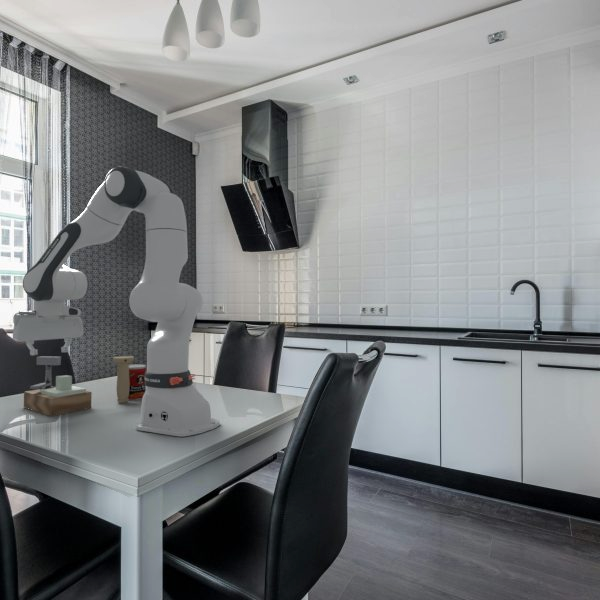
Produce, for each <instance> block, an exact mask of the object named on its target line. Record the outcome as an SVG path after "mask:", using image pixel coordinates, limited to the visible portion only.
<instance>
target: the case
mask: <svg viewBox="0 0 600 600" xmlns="http://www.w3.org/2000/svg"><path fill="white" fill-rule="evenodd" d="M54 388H56V386H54ZM41 390H42V388H39V389H32V390H26V391H23V408H24V407H25V408H24V409H26V408H29V409H28V410H30V409H32V410H31V411H33V410H35V411H34V412H36V411H38V412H37V413H39V412H41V413H40V414H43V415H46V414H47V415H48V416H49V415H50V416H49V417H53V416H58V415H63V414H64V415H65V414H67V413H73V412H77V411H83V410H87V409H91V408H92V391H90V390H86V393H80V394H74V395H69V396H63V397H57V398H55V397H51V396H47V395H43V394H41ZM47 415H46V416H47Z"/></svg>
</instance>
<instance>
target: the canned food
mask: <svg viewBox="0 0 600 600" xmlns="http://www.w3.org/2000/svg"><path fill="white" fill-rule="evenodd" d="M146 371H147V364H139V363H138V364H136V363H135V364H134V363H133V364H129V383H130V384H129V385H130V386H129V387H130V388H129V396H128V398H129V399H128V400H140V398H141V399H142V398H143V395H144V393H145V390H146V385H145V372H146Z"/></svg>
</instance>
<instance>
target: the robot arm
mask: <svg viewBox="0 0 600 600" xmlns="http://www.w3.org/2000/svg"><path fill="white" fill-rule="evenodd" d="M133 211H135V212H138V213H140V214H143V215H144V217H145V262H144V267H143V268H144V269H143V271H142V274H141V278H140V280H139V281H138V283H137V285H136V286H135V287H134V288H133V289H132V290H131V292H130V295H129V300H128V301H129V302H128V303H129V307H130V310H131V312H132V313H133V315H134V316H136V317H137V318H138V319H140V320H141V319H142V320H144V321H147V322H148V321H149V322H152V323H157V324H156V327H155V330H154V333H153V334H152V337H151V338H150V339H149V340H148V342H147V345H146V347H147V348H146V372H145V385H146V390H145V393H144V395H143V398H141V407H140V416H139V423H137V425H136V431H141V432H146V433H147V432H149V433H153V434H161V435H166V436H173V437H174V436H175V437H189V436H194V435H199V434H202V433H206V432H208V431H209V432H210V431H212V430H214V429H215V428H217V427H218V426H220V424H221V423H220V420H218V419H216V418H213V417H212V412H211V411H212V410H211V405H210V402H209V401H208V400H207V399H206V398H205V397H204V396H203V395H202V394H201V393H200V391H199V390H198V389H197V388H196V387H195V386H194V385H193V384H194V382H193V380H196V378H195V377H196V374H191V370H189V361H190V359H189V357H190V355H189V354H190V341H191V335H192V331H193V328H194V323H195V320H196V317H197V316H198V314H199V313H200V311H201V310H202V307H203V297H202V295H201V293H200V291H199V290H198V289H197V288H195V287H193V286H191V285H189V284H187V283H185V282H184V283H182V282H180V276H181V273H182V269H183V267H184V266H185V265H186V263H187V262H188V258H189V257H188V256H189V254H188V253H189V252H188V226H187V218H186V212H185V208H184V203H183V201H182V199H181V198H180V197H179V196H178V195H177V193H176V191H175V189H173V187H172V186H171V185H170V184H169V183H167V182H165V181H162V180H160V179H158V178H157V177H154V176H152V175H150V174H148V173H146V172H143V171H139V170H137V169H134V168H132V167H129V166H115V167H113V168H111V169H110V170H109V171H108V173H107V174H106V176H105V179H104V181H103V182H102V184H101V185H100V186H99V187H98V188H97V189H96V191H95V192H94V193H93V195H92V196H91V199H90V200H89V202H88V203H87V205H86V207H85V209H84V210H83V211H82V213H80V215H79V216H77V218H75V219H74V220H72V221H71V222H69V223H67V224H66V225H64V227H62V228H61V230H60V231H59V232H58V234H57V235H56V236H55V237H54V239H53V240H52V241H51V243H50V245H49V246H48V247H47V249H45V251H44V253H42V255H41V257H40V258H39V259H38V261H36V263H35V264H34V265H33V266H32V267H30V269H28V271H27V272H26V273H25V275H24V276H23V279H22V289H23V291H24V292H25V293H26V295H27V296H28V297H30V298H31V299H32V300H33V310H25V311H24V310H19V311H18V312H16V313H14V315H13V317H12V318H13V319H12V320H13V321H12V322H13V329H12V340H14V341H15V342H25V345H26V347H27V348H28V350H29V355H30V356H38V351H39V350H38V349H37V348H36V349H35V347H34V346H33V345H34V344H35V341H47V340H59V339H64V340H63V341H64V342H65V343H64V345H63V346H60V349H61V353H68V352H69V347H70V345H71V343H72V342H73V339H74V338H75V339H76V338H81V337H83V335H84V324H83V319H82V317H81V315H82V314H81V313H82V312H81V309H79V308H76V307H73V306H71V305H70V306H69V305H67V304H66V301H75V300H81V299H83V298H84V297H85V296H87V294H88V293H89V292H88V291H89V288H90V287H89V286H90V282H89V278H88V277H87V275H86V274H85V273H84V272H83V271H80V270H77V269H74V268H71V267H70V266H67V265H66V264H65V263H66V262H67V261H68V259H69V257H71V255H72V254H73V253H74V252H75V251H78V250H80V249H81V248H85V247H89V246H94V245H102V244H106V243H109V242H112V241H113V240H114V239H115V238H116V237H117V236H118V235H119V234H120V232H121V230H122V228H123V227H124V225H125V224H126V221H127V219H128V217H129V215H130V214H131V213H132V212H133Z"/></svg>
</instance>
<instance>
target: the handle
mask: <svg viewBox="0 0 600 600" xmlns="http://www.w3.org/2000/svg"><path fill="white" fill-rule="evenodd" d="M134 360H135V357H134V355H133V356H132V355H131V356H130V355H129V356H128V355H127V356H126V355H125V356H116V357H115V356H114V357H112V362H113V363H115V364H117V375H116V376H117V377H116V397H117V398H116V400H117V403H118V404H126V403H128V402H129V400H130V399H129V398H128V396H129V388H130V387H129V386H130V385H129V384H130V383H129V365H130V364H131V363H132V362H134Z"/></svg>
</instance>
